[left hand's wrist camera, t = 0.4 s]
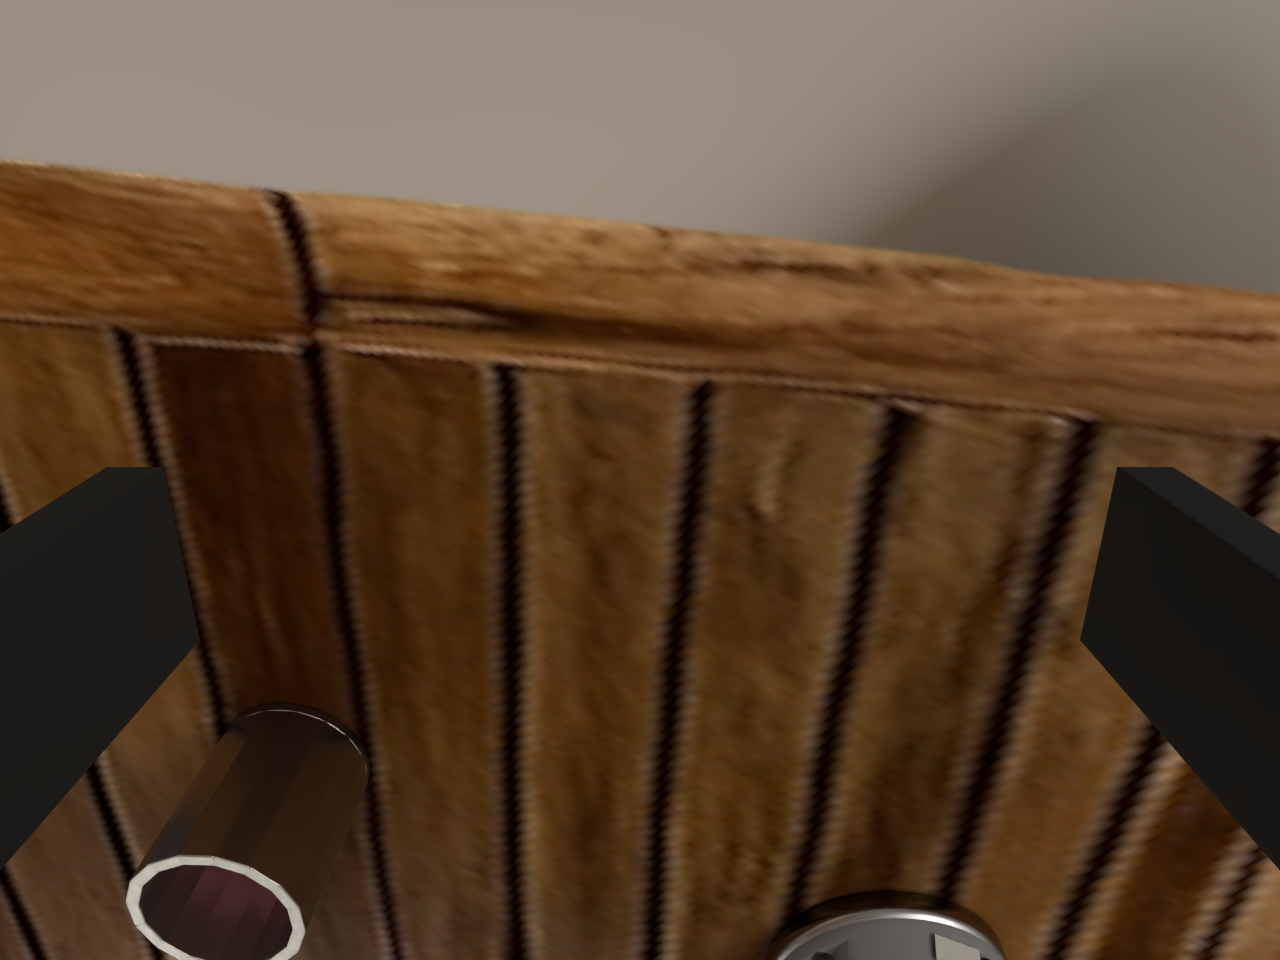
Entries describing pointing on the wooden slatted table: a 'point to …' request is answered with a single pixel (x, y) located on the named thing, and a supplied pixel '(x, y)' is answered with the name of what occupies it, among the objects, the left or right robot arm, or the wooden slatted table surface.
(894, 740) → the wooden slatted table surface
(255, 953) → the cup
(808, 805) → the wooden slatted table surface
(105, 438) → the wooden slatted table surface
